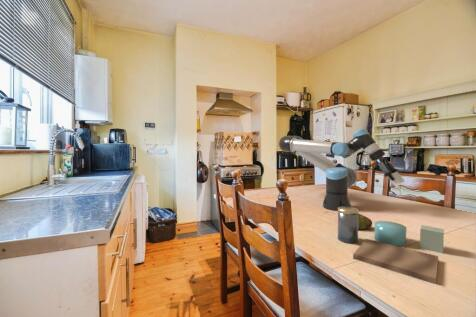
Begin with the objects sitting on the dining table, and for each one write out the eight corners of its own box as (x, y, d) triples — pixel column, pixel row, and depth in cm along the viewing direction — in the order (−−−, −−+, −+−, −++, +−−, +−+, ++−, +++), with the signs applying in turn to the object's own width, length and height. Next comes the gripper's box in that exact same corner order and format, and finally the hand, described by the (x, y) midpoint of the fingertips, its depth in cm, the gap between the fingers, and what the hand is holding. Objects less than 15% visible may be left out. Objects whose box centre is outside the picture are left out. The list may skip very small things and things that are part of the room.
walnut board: (353, 258, 72) (353, 253, 72) (366, 242, 83) (366, 238, 83) (435, 284, 58) (435, 278, 58) (438, 260, 70) (438, 256, 70)
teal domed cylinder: (371, 241, 85) (371, 225, 85) (377, 233, 92) (377, 219, 92) (403, 249, 78) (404, 232, 78) (407, 240, 85) (408, 224, 85)
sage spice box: (419, 248, 79) (420, 228, 78) (421, 243, 82) (421, 225, 82) (442, 253, 74) (443, 233, 74) (443, 248, 78) (443, 229, 78)
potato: (370, 233, 92) (370, 214, 92) (337, 227, 100) (337, 209, 99) (372, 227, 99) (373, 209, 98) (341, 222, 106) (341, 205, 106)
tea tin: (334, 240, 86) (335, 209, 85) (341, 234, 91) (341, 205, 91) (354, 245, 81) (355, 212, 80) (360, 239, 86) (361, 208, 86)
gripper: (375, 148, 117) (404, 183, 109) (385, 148, 135) (410, 177, 127) (362, 156, 122) (389, 190, 114) (373, 155, 140) (397, 184, 132)
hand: (400, 184), depth 121 cm, fingers open, 13 cm apart
